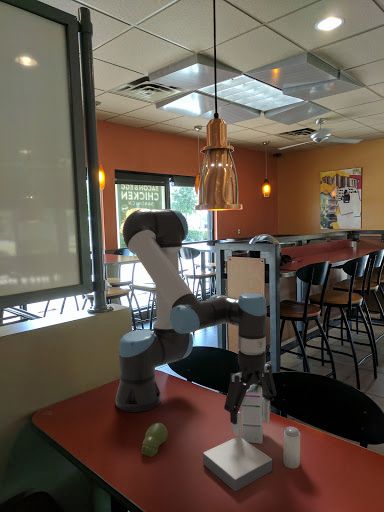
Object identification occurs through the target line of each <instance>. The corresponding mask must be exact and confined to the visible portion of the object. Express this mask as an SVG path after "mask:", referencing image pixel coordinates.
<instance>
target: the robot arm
mask: <svg viewBox="0 0 384 512" xmlns="http://www.w3.org/2000/svg"><path fill="white" fill-rule="evenodd" d="M188 234H189V224H188V221H187V218H186V216H185V215H183V213H182V212H181V211H180V210H177V209H173V208H172V209H170V208H163V209H162V208H157V209H156V208H154V209H152V208H151V209H149V208H147V209H146V208H141V209H137V210H134V211H133V212H131V213H130V214H128V216H127V218H125V221H124V222H123V226H122V238H123V242H124V243H125V246H126V247H127V249H128V251H129V252H130V253H131V254H135V255H136V257H137V258H138V260H139V262H140V263H141V265H142V266H143V268H144V269H145V271H146V272H147V274H148V276H149V277H150V278H151V280H152V282H153V283H154V285H155V286H154V287H155V302H156V303H155V305H156V321H155V322H154V323H153V324H152V327H153V328H152V329H153V330H151V329H146V328H145V329H135V330H132V331H130V332H127V333H125V334H124V335H122V337H121V338H119V345H118V357H119V358H118V359H119V376H120V377H119V384H118V388H117V391H116V395H115V406H116V407H117V408H118V409H119V410H121V411H124V412H129V413H141V412H146V411H147V412H148V411H150V410H153V409H154V408H156V407H157V406H159V405H160V404H161V400H162V399H161V398H162V397H161V396H162V394H161V389H160V387H159V385H158V381H157V379H156V368H157V367H162V366H164V365H167V364H171V363H174V362H180V361H181V360H183V359H185V358H187V357H188V356H189V355H190V354H191V352H192V350H193V347H194V335H193V333H195V332H197V331H200V330H204V329H207V328H211V327H212V328H213V327H216V326H219V325H222V324H223V325H224V324H228V325H229V324H230V325H233V326H237V327H238V328H237V329H238V331H237V337H238V339H237V341H238V342H237V344H238V345H237V349H238V351H237V364H238V365H239V371H238V372H237V373H233V372H232V373H230V374H229V379H230V380H229V385H228V390H227V393H226V394H227V395H226V397H225V402H224V407H223V410H225V411H227V412H228V413H229V414H230V415H229V416H230V417H229V419H230V420H229V421H230V423H231V433H233V434H234V435H236V437H238V436H239V437H240V436H241V437H242V432H241V411H240V410H241V404H242V401H243V399H244V396H245V394H246V391H247V390H248V389H249V388H250V386H251V385H253V384H258V385H260V386H262V401H263V423H264V422H265V423H266V424H270V415H271V413H270V412H271V408H272V407H271V406H272V405H271V404H272V402H274V400H275V396H277V390H276V385H275V382H274V377H273V365H271V364H269V363H267V362H266V361H267V359H266V357H267V353H266V348H267V347H266V345H267V341H266V340H267V331H266V330H267V313H268V309H267V298H266V297H265V296H264V295H263V294H259V293H252V292H250V293H246V292H245V293H241V294H240V295H239V296H238V298H236V297H231V296H227V295H225V294H213V295H211V296H210V297H209V298H207V299H206V300H202V301H200V300H198V298H197V296H195V294H194V293H193V292H192V289H190V287H189V286H188V285H187V282H186V281H184V278H183V277H182V276H181V275H180V270H179V269H180V268H179V267H180V265H179V251H180V250H181V249H182V248H183V242H184V241H185V240H186V239H187V237H188ZM244 384H246V385H244Z"/></svg>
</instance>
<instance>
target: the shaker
mask: <svg viewBox="0 0 384 512" xmlns="http://www.w3.org/2000/svg"><path fill="white" fill-rule="evenodd" d="M282 458H283V459H282V460H283V465H284V466H285V467H286V468H289V469H297V468H298V469H299V467H300V464H301V432H300V430H299V429H298V428H297V427H295V426H286V427H285V429H284V431H283V457H282Z"/></svg>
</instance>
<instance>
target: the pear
mask: <svg viewBox="0 0 384 512" xmlns="http://www.w3.org/2000/svg"><path fill="white" fill-rule="evenodd" d="M167 438H168V429H167V427H166V425H165V424H163V423H162V422H155V423H153V424H151V425H150V426H149V427H148V428H147V430H146V431H145V435H144V439H143V441H142V443H141V444H142V447H141V449H140V450H141V454H142V455H144V456H146V457H150V458H151V457H155V456H156V455H157V454H158V452H159V447H160V445H162V444H164V443H165V442H166V440H167Z"/></svg>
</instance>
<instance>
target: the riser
mask: <svg viewBox="0 0 384 512" xmlns="http://www.w3.org/2000/svg"><path fill="white" fill-rule="evenodd" d="M202 454H203V455H202V456H203V457H202V458H203V459H202V460H203V461H202V464H203V465H204V466H205V467H206V468H208V470H210V472H212V473H213V474H214V475H215V476H217V477H218V478H219V479H220V480H221V481H222V482H224V483H225V484H226V485H227V486H228V487H229V488H230V489H231V490H233V491H234V492H237V491H240V490H241V489H242V488H244V487H246V486H247V485H249V484H251V483H253V482H255V481H256V480H258V479H260V478H261V477H263V476H265V475H267V474H269V473H271V472H272V471H273V458H271V457H270V456H268V455H267V454H265V453H264V452H263V451H261V450H260V449H258V448H256V447H255V446H254V445H253V444H251V443H249V442H247V441H245V440H244V439H242V436H241V437H240V436H236V437H233V438H232V439H230V440H227V441H225V442H223V443H220V444H219V445H217V446H215V447H213V448H210V449H208V450H205V451H204V452H202Z"/></svg>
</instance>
